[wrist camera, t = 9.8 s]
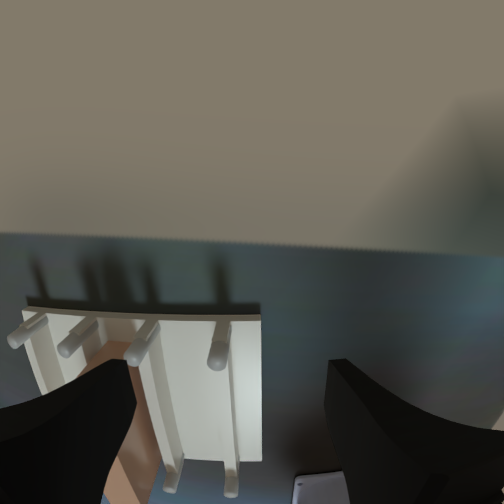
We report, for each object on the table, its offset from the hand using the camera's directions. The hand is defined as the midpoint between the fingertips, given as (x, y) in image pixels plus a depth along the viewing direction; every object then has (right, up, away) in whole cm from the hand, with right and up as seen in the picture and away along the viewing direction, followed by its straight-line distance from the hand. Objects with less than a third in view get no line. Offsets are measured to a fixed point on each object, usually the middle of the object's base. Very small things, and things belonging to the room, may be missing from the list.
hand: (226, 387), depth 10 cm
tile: (-8, -6, +10) cm, 14 cm away
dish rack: (-7, -6, +11) cm, 14 cm away
